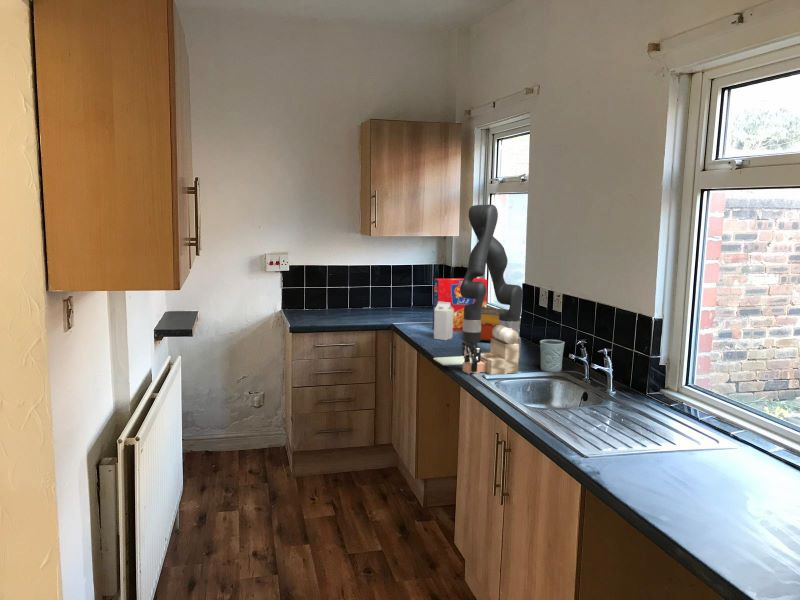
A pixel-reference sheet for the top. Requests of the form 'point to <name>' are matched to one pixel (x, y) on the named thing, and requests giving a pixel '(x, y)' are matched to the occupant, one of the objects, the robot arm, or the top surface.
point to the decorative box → (489, 322)
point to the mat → (451, 360)
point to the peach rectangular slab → (480, 367)
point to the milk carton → (443, 321)
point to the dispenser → (502, 351)
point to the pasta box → (454, 298)
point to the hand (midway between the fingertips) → (470, 369)
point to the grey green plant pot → (551, 355)
